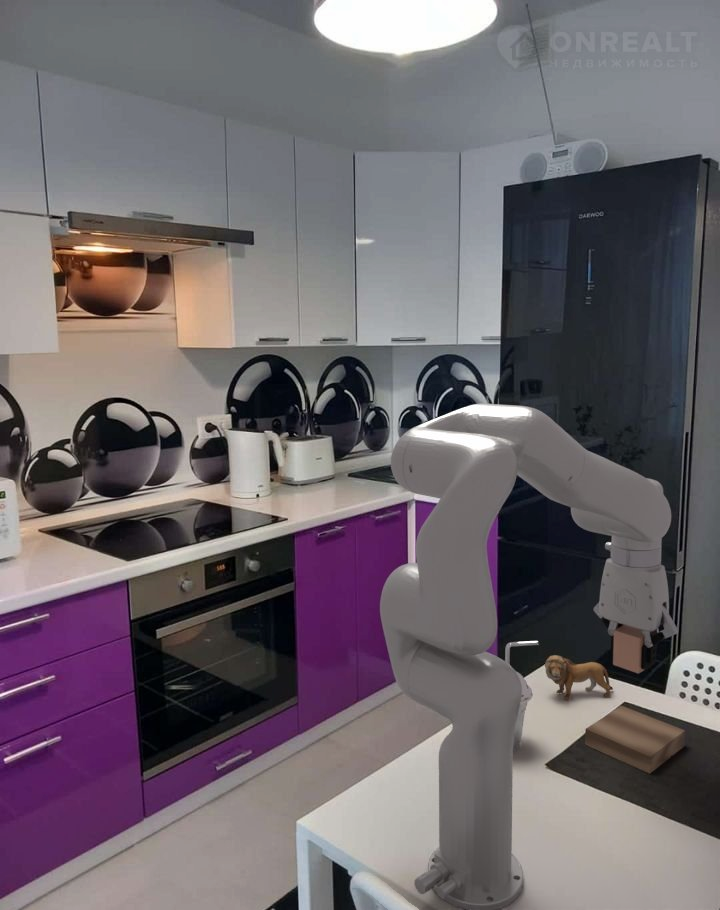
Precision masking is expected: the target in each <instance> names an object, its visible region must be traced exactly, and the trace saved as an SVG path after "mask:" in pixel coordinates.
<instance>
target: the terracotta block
mask: <svg viewBox="0 0 720 910" xmlns="http://www.w3.org/2000/svg"><path fill="white" fill-rule="evenodd" d="M643 645H645V642H644V637H643V632H642V630H640V629H636V628H633V627H630V626H626V625H623V626H621V627H619V628H617V629H615V630H614V647H613V659H612V665H613V666H615V667H618V668H622V669H624V670H627V671H630V672H633V673H636V674H637V675H638V674H640V673H642V672H644V671H645V670H644V669H642V668H641V655H642V646H643Z"/></svg>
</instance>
